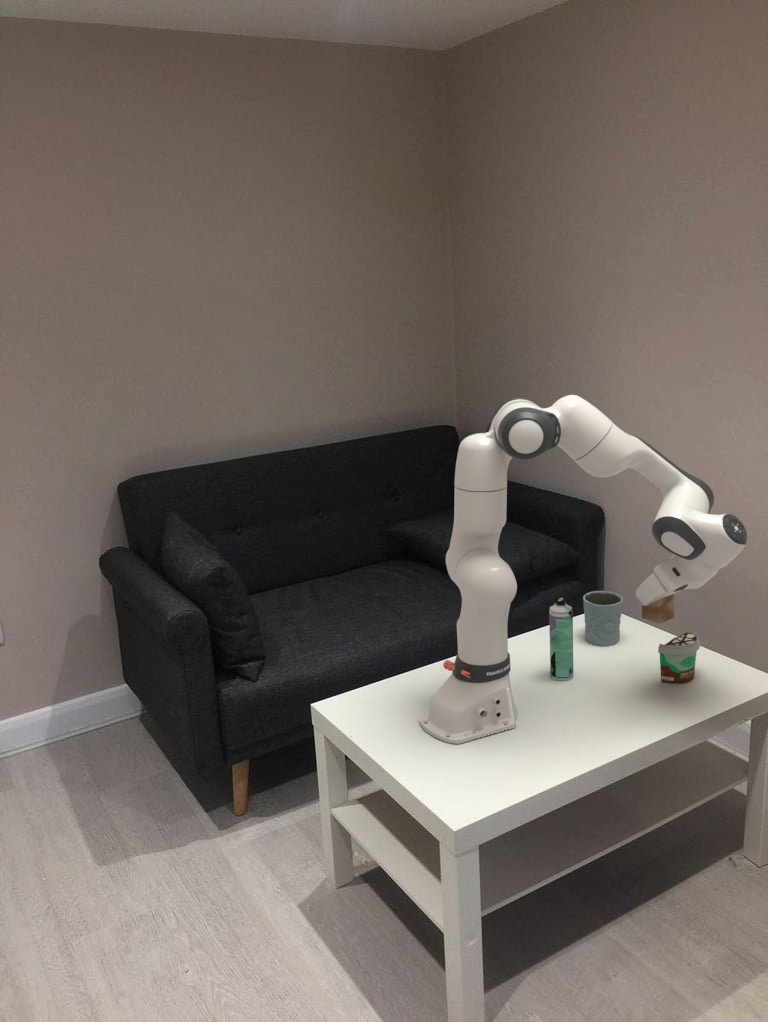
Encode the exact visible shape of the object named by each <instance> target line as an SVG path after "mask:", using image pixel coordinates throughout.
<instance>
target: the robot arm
mask: <svg viewBox="0 0 768 1022" xmlns="http://www.w3.org/2000/svg"><path fill="white" fill-rule="evenodd" d="M556 447H559V448H560V449H561V450H562V451H564V453H566V454H567V456H569V457H570V458H571V459H572V460H573V462H575V464H577V466H579V467H580V468H581V469H582V470H583V471H585V472H586V473H587V474H589V475H591V476H593V477H595V478H610V477H613V476H616V475H618V474H620V473H621V472H623V471H625V470H626V469H632V470H635V471H636V472H638V473H639V474H640V475H641V476H643V477H644V478H646V479H647V480H648V481H650V482H651V483H652V484H653V485H654V486H656V487H657V488H658V489H660V491H661V493H662V503H661V505H660V507H659V510H658V511H657V513H656V516H655V519H654V520H653V523H652V526H651V533H652V536H653V538H654V540H655V541H656V543H657V544H658V545H659V546H660V547H662V548H663V549H664V550H666V551H668V552H669V553H671V554H673V555H672V556H670V557H669V558H667V559H666V560H664V561H663V562H661V563H659V564H658V565H656V566H655V567H653V571H654V572H652V573H651V574H650V575H648V577H647V578H646V579H644V581H643V582H642V583H641V584H640V585H639V586H638V587H637V588H636V589H635V596H636V598H637V599H638V601H639V602H640V604H641V606H642V605H646V606H648V605H650V604H652V603H653V602H655V601H657V600H660V599H662V598H664V597H667V596H669V595H672V594H674V595H675V594H677V593H679V592H681V591H685V590H690V589H693V590H696V589H699V588H701V587H703V586H704V585H706V583H707V582H708V581H709V580H711V579H712V578H713V577H715V575H716V574H717V573H718V571H719V570H720V569H723V568H725V567H726V566H728V565H729V564H730V563H732V561H733V560H734V559H735V558H737V556H738V555H740V553H741V552H742V551H743V549H744V548H745V547H746V544H747V541H748V533H747V532H748V531H747V529H746V527H745V525H744V523H743V522H742V521H741V520H740V518H739V517H738V516H736V515H734V514H732V513H723V514H713V513H710V512H711V510H712V509H713V506H714V503H715V495H714V492H713V489H711V487H710V486H709V484H707V482H705V481H704V480H702V479H700V478H698V477H697V476H694V475H692V474H691V473H688V472H686V471H685V470H683V468H681V467H679V466H678V465H676V463H675V462H673V461H671V459H669V458H668V457H666V456H665V455H664V454H663V453H661V452H660V451H659V450H658V449H656V448H655V447H653V446H652V445H651V444H650V443H648V442H647V441H645V440H644V439H643V438H641V437H640V436H637V435H635V434H631V433H627V432H625V431H624V430H622V429H621V428H619V427H618V426H617V425H616V424H615V423H614V422H613V421H612V420H611V419H610V418H608V416H606V414H604V413H603V412H602V411H601V410H600V409H598V407H596V406H594V405H593V404H591V403H590V402H589V401H588V400H586V399H584V398H582V397H581V396H579V395H576V394H568V395H564V396H563V397H561V398H559V399H557V400H556V401H555V402H554V403H553V404H551V406H548V407H545V408H544V407H540V406H539V405H538V404H536V402H534V401H533V400H531V399H529V398H526V397H513V398H509V399H507V400H505V401H504V402H502V404H500V406H499V407H498V408H497V409H496V411H495V413H493V416H492V417H491V419H490V421H489V422H488V425H487V426H486V429H485V432H480V433H478V432H477V433H474V434H470V435H468V436H467V437H464V438H463V440H461V442H460V444H459V446H458V451H457V456H456V462H455V470H454V495H453V496H454V497H453V498H454V502H453V503H454V506H453V507H454V508H453V509H454V510H453V511H454V512H453V513H454V514H453V515H454V516H453V526H452V532H451V538H450V542H449V547H448V550H447V551H446V554H445V565H446V570H447V573H448V576H449V577H450V579H451V580H452V581H453V582H454V584H455V585H456V586H457V588H458V589H459V591H460V595H461V608H460V615H459V618H458V619H457V621H456V635H457V636H456V637H457V638H456V639H457V654H456V656H455V660H454V661H453V662H452V661H451V660H449V659H446V660H444V662H443V665H442V666H443V668H444V669H445V670H448V671H450V672H452V673H451V674H450V675H449V677H448V678H447V679H446V680H445V681H444V682H443V683H442V684H441V686H440V687H439V688H438V689H437V690H436V691H435V692H434V694H433V695H432V696H431V698H430V702H429V711H428V712H426V713H425V714H423V715H421V716H420V717H419V725H420V727H421V728H422V729H423V730H424V731H425V732H426V733H428V734H429V735H431V736H432V737H434V738H436V739H438V740H441V741H442V742H446V743H449V744H454V745H460V744H464V743H467V742H470V741H474V740H477V739H480V737H481V738H484V737H487V735H488V736H490V734H491V735H494V733H495V734H498V733H500V732H501V731H502V732H504V730H505V731H509V730H512V729H515V728H516V726H517V722H516V718H517V716H518V709H517V706H516V703H515V700H514V695H513V690H512V685H511V678H510V672H511V669H512V668H511V654H510V653H509V647H508V645H509V642H508V640H509V639H508V637H509V636H508V621H509V620H508V619H509V612H510V608H511V603H512V602H513V601H514V598H515V596H516V595H517V590H518V583H517V580H516V577H515V573H514V572H513V570H512V568H511V567H510V565H509V563H507V562H506V561H505V560H503V559H502V557H500V554H499V541H500V538H501V533H502V529H503V527H504V526H505V525H506V522H507V510H508V509H507V506H508V505H507V504H508V503H507V502H508V500H507V498H508V496H507V495H508V492H507V491H508V470H509V469H508V468H509V465H510V462H511V460H513V458H514V459H516V460H521V461H527V460H532V459H535V458H537V457H539V456H541V455H542V454H544V453H545V452H547V451H550V450H552V449H554V448H556ZM508 729H509V730H508ZM502 732H501V733H502ZM476 738H477V739H476ZM473 739H474V740H473Z"/></svg>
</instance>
